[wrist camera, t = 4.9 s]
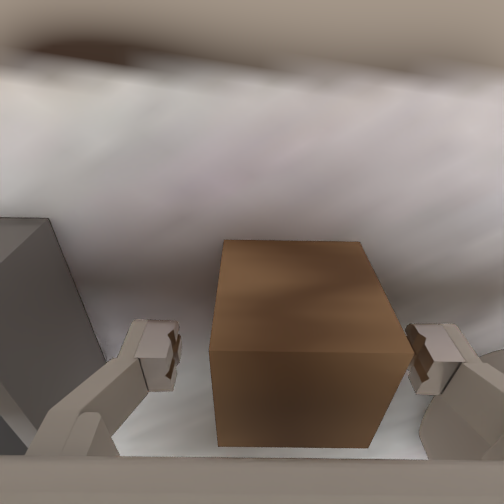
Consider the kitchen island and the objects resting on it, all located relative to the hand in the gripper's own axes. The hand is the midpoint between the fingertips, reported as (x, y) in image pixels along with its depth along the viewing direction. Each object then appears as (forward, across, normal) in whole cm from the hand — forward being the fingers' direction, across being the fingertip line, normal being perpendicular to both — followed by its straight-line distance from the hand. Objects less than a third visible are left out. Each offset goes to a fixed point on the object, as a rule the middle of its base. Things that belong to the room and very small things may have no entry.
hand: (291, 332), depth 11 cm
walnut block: (+2, 0, 0) cm, 2 cm away
